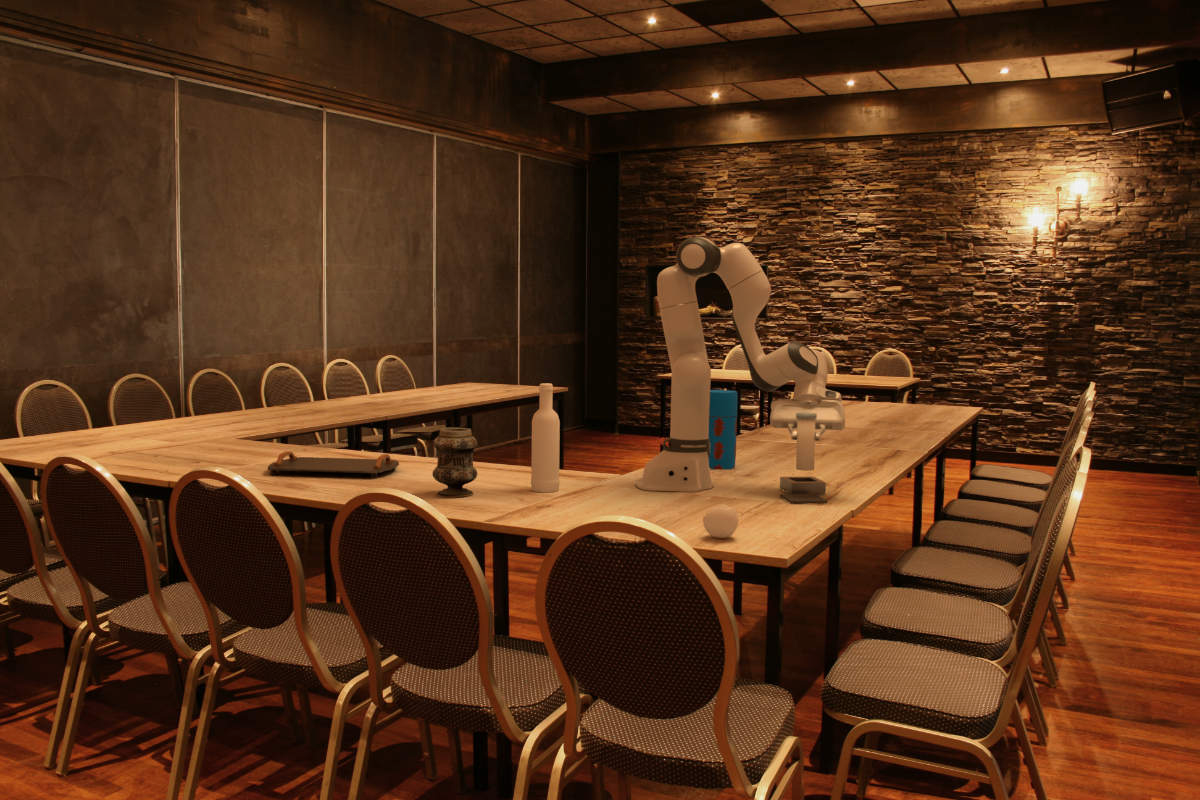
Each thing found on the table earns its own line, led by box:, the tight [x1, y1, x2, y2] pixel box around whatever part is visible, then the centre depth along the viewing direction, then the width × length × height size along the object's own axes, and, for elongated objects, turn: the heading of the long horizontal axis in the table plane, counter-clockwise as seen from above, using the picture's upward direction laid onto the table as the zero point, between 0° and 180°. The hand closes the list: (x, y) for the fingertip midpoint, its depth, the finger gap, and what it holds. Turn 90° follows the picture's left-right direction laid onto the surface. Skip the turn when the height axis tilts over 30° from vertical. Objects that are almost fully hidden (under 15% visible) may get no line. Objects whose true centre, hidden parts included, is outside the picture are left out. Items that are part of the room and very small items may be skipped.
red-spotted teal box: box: [708, 389, 738, 470], centre depth 318 cm, size 11×11×25 cm
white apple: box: [702, 504, 739, 539], centre depth 219 cm, size 8×8×8 cm
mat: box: [779, 493, 828, 505], centre depth 265 cm, size 10×10×1 cm
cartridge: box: [795, 413, 817, 472], centre depth 264 cm, size 5×5×15 cm
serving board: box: [267, 450, 400, 480], centre depth 299 cm, size 39×23×6 cm, turn 85°
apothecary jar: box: [432, 427, 478, 498], centre depth 264 cm, size 12×12×18 cm
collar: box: [779, 476, 827, 496], centre depth 277 cm, size 10×10×4 cm
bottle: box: [530, 382, 561, 494], centre depth 272 cm, size 8×8×30 cm
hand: (805, 439), depth 263 cm, fingers closed on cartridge, 5 cm apart
